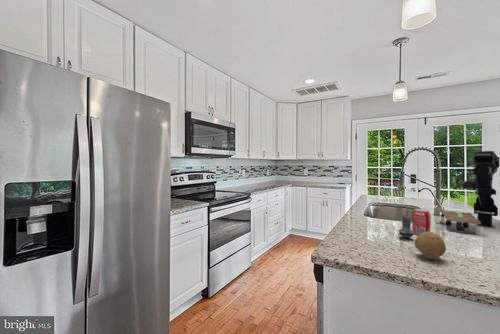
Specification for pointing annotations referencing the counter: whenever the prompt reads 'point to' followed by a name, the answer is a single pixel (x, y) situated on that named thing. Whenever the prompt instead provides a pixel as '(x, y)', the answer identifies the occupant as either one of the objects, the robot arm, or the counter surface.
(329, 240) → the counter surface
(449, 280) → the counter surface
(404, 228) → the dark grey tall piece
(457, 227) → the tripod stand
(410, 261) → the counter surface
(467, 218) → the instrument deck
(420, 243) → the potato
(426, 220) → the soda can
